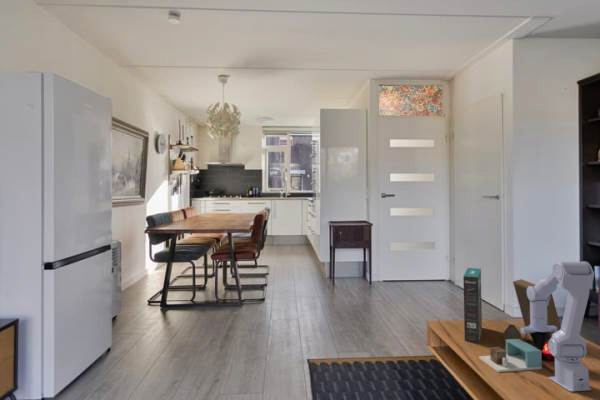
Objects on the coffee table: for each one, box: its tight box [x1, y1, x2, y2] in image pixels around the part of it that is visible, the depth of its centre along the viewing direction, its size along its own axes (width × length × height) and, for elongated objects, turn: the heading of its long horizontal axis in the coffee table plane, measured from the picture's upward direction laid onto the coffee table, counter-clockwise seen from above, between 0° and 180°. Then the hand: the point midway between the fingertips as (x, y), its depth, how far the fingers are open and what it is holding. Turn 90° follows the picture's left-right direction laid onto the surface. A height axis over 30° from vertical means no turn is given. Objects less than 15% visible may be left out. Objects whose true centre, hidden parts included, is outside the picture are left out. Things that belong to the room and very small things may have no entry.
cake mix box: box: [463, 267, 483, 344], centre depth 174 cm, size 22×6×30 cm, turn 150°
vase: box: [503, 324, 522, 343], centre depth 160 cm, size 7×7×9 cm
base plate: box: [478, 354, 543, 373], centre depth 143 cm, size 12×18×4 cm, turn 97°
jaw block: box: [489, 346, 506, 364], centre depth 142 cm, size 4×4×5 cm
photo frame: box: [512, 278, 562, 343], centre depth 168 cm, size 15×22×25 cm
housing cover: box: [505, 338, 543, 367], centre depth 143 cm, size 12×6×6 cm, turn 7°
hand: (539, 350), depth 144 cm, fingers closed
